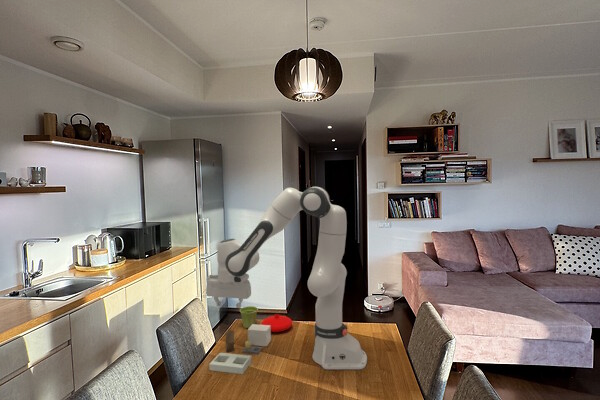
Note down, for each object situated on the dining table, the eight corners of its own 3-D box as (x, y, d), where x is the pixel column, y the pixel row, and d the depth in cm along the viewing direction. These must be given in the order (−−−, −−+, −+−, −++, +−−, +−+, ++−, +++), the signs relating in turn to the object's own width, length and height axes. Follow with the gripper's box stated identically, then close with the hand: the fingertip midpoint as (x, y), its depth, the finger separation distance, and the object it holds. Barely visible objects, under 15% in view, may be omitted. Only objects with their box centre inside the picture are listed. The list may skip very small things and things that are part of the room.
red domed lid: (255, 332, 159) (255, 318, 159) (270, 320, 174) (270, 307, 174) (284, 337, 153) (283, 323, 153) (297, 324, 168) (297, 311, 167)
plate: (261, 349, 142) (261, 340, 142) (258, 354, 138) (258, 345, 138) (246, 347, 144) (246, 339, 144) (242, 352, 140) (242, 343, 140)
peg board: (251, 361, 132) (251, 355, 132) (242, 374, 123) (242, 367, 123) (220, 358, 135) (220, 352, 135) (209, 370, 126) (209, 364, 126)
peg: (235, 348, 144) (235, 330, 143) (232, 352, 140) (231, 334, 140) (228, 347, 144) (227, 330, 144) (224, 351, 141) (224, 333, 141)
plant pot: (251, 320, 174) (250, 304, 173) (262, 325, 167) (261, 309, 167) (236, 326, 167) (236, 309, 167) (247, 331, 160) (246, 314, 160)
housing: (270, 340, 151) (270, 325, 150) (266, 346, 145) (266, 331, 145) (252, 338, 153) (252, 324, 152) (248, 344, 147) (247, 329, 147)
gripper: (202, 276, 140) (203, 307, 141) (246, 279, 136) (247, 311, 136) (210, 272, 146) (210, 302, 147) (252, 275, 142) (252, 305, 142)
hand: (228, 306), depth 142 cm, fingers open, 8 cm apart
